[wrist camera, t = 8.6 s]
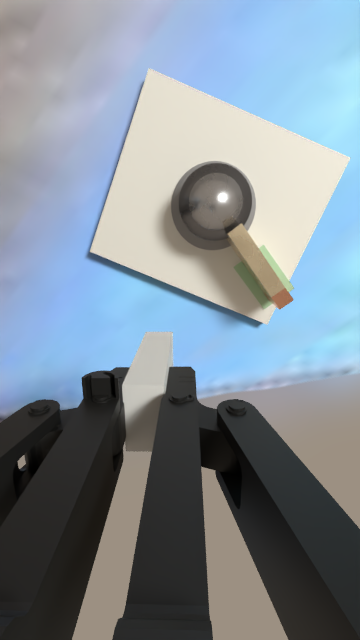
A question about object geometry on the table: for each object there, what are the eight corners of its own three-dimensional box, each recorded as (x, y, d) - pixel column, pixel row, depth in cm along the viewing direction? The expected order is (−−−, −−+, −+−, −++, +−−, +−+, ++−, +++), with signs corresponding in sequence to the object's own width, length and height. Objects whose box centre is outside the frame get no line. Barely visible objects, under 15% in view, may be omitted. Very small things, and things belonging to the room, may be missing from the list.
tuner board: (93, 251, 36) (89, 251, 35) (150, 74, 32) (148, 67, 30) (271, 324, 37) (274, 327, 36) (352, 164, 33) (358, 160, 31)
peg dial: (167, 199, 33) (162, 193, 29) (221, 155, 32) (225, 142, 27) (249, 315, 35) (256, 325, 31) (302, 278, 34) (318, 283, 30)
